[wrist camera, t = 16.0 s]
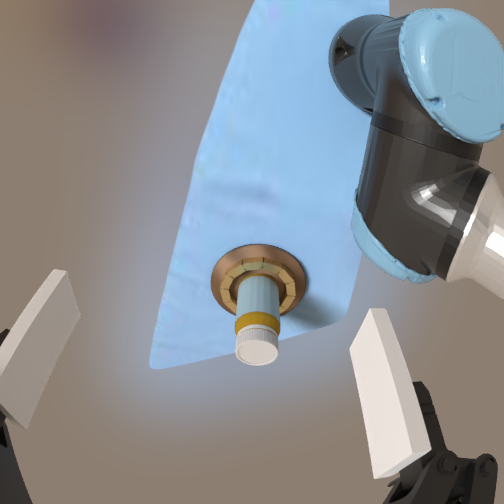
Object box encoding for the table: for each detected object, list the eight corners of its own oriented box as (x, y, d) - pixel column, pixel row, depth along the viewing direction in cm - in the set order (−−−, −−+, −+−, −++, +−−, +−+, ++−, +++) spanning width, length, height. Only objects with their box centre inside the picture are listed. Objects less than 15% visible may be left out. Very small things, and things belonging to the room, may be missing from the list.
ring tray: (268, 225, 49) (268, 233, 47) (322, 290, 57) (324, 299, 54) (192, 276, 56) (189, 284, 53) (250, 328, 63) (250, 337, 61)
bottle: (281, 298, 57) (284, 364, 44) (244, 303, 58) (239, 369, 45) (274, 268, 53) (276, 335, 40) (234, 275, 54) (226, 341, 41)
